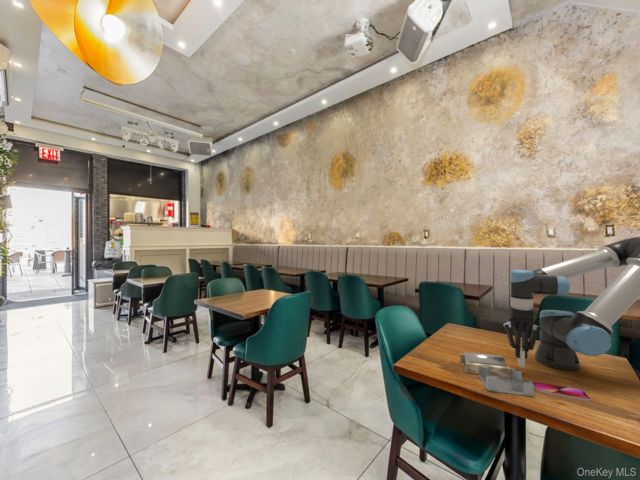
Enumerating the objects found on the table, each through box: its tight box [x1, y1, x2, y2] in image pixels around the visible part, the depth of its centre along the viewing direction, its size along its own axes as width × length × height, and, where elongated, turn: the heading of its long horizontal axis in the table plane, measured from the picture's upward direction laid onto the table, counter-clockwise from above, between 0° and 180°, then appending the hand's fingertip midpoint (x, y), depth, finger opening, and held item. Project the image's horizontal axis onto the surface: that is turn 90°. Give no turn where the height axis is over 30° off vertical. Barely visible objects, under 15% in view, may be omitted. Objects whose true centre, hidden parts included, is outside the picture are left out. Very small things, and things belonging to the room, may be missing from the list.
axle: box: [464, 351, 507, 367], centre depth 115 cm, size 14×6×6 cm, turn 75°
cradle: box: [478, 365, 534, 398], centre depth 102 cm, size 14×11×4 cm
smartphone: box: [531, 381, 591, 402], centre depth 98 cm, size 7×1×15 cm
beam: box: [459, 352, 511, 377], centre depth 115 cm, size 16×12×4 cm
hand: (521, 365), depth 112 cm, fingers closed
